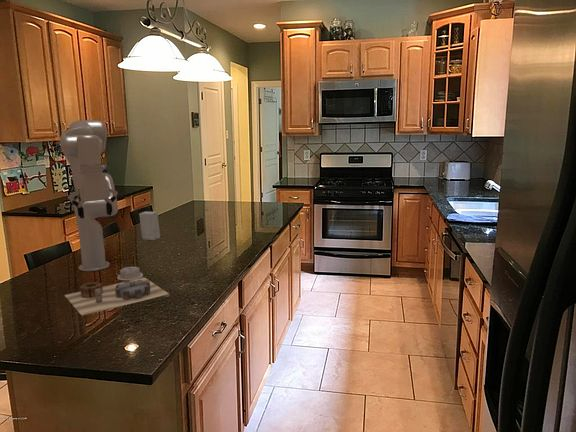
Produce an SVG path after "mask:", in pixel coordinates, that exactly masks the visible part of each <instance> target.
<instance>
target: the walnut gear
mask: <svg viewBox="0 0 576 432" xmlns="http://www.w3.org/2000/svg"><path fill="white" fill-rule="evenodd" d="M102 287H103V283H102V282H99V281H91V282H85V283H83V284H81V285H80V286H79V290H80V291H79V292H81V296H82V298H83V297H84V298H90V297H91V298H93V297H96V296H95V289H98V288H101V293H102V294H103V290H102Z"/></svg>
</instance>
